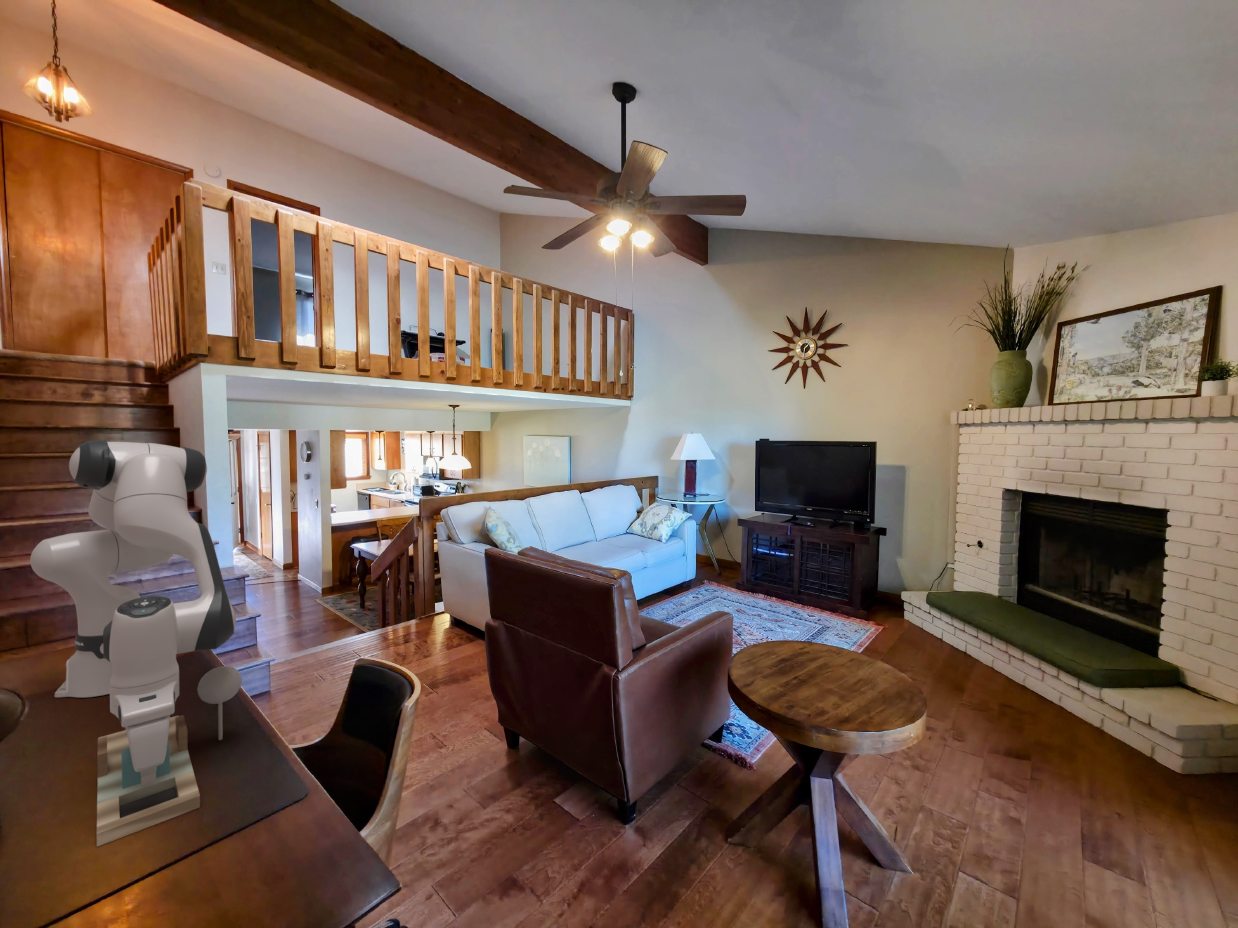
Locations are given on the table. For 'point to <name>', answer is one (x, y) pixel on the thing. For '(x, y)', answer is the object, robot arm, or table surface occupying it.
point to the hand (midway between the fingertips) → (146, 770)
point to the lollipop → (219, 689)
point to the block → (133, 777)
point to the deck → (137, 803)
